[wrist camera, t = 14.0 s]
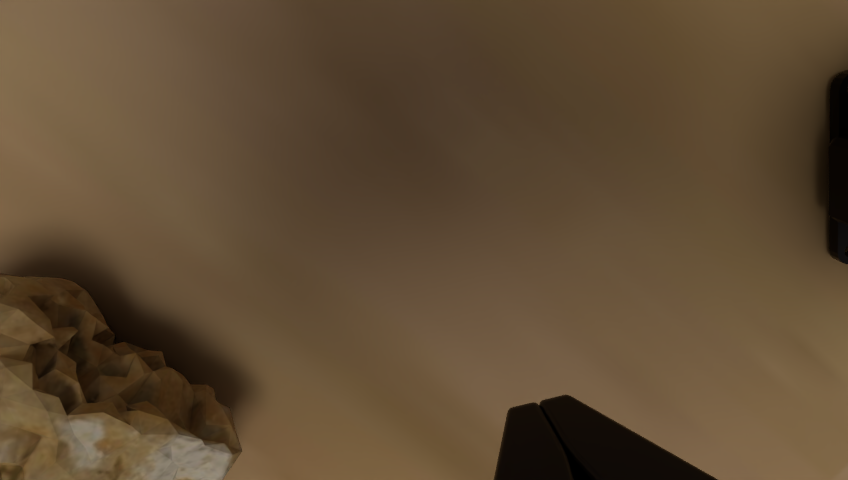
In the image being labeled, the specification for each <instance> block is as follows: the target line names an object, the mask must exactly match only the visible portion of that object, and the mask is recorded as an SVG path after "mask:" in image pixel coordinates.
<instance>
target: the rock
mask: <svg viewBox="0 0 848 480" xmlns="http://www.w3.org/2000/svg"><path fill="white" fill-rule="evenodd" d="M114 338H115V334H114V333H113V332H112V331H111V330H110V328H109V327H108V326H107V324H106V321H105V319H104V317H103V315H102V313H101V312H100V310H99V309H98V307H97V305H96V304H95V302H94V301H93V299H92V297H91V296H90V294H89V293H88V291H87V290H85V289H83V288H81V287H80V286H79V285H77V284H76V283H75V282H73V281H70V280H66V279H63V278H51V277H31V276H25V278H24V277H18V276H12V275H5V274H0V480H223V478H224V477H225V475H226V474H227V472H228V471H229V469H230V468H231V467H232V465H233V464H234V462H235V461H236V459H237V458H238V456H239V455H240V453H241V452H242V449H241V446H240V443H239V440H238V437H237V434H236V431H235V427H234V423H233V418H232V414H231V410H230V408H229V407H227V406H224V405H222V404H220V403H218V402H217V401H216V397H215V392H214V389H213V388H211V387H210V386H208V385H191V384H190V383H189V382H188V380H187V379H186V378H185V377H184V375H183V374H181V373H179V372H177V371H176V370H174V369H173V368H170V367H166V364H165V360H164V356H163V353H162V351H150V350H145V349H142V348H140V347H137V346H135V345H132V344H129V343H127V342H122V343H118V344H114V345H113V343H114Z"/></svg>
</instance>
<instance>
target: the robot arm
mask: <svg viewBox="0 0 848 480" xmlns="http://www.w3.org/2000/svg"><path fill="white" fill-rule="evenodd" d="M847 87H848V70H846V71H844V72H841V73H839V74H838V75H837V76H836V77H835V78H834V80H833V82H832V84H831V89H830V146H829V215H830V228H829V250H830V255H831V256H832V257H833V258H834V259H836V260H838V261H840V262H842V263H845V264H848V251H847V252H845V249H846V247H847V246H848V92H847ZM494 480H718V479H716V478H714V477H712V476H711V475H709V474H707V473H705V472H704V471H702V470H700V469H698V468H696V467H695V466H693V465H691V464H689V463H688V462H686V461H684V460H682V459H681V458H679V457H677V456H675V455H674V454H672V453H670V452H668V451H667V450H665V449H663V448H661V447H659V446H658V445H656V444H654V443H652V442H651V441H649V440H647V439H645V438H644V437H642V436H640V435H638V434H637V433H635V432H633V431H631V430H630V429H628V428H626V427H624V426H623V425H621V424H619V423H617V422H615V421H614V420H612V419H610V418H608V417H607V416H605V415H603V414H601V413H600V412H598V411H596V410H594V409H593V408H591V407H589V406H587V405H586V404H584V403H582V402H580V401H578V400H577V399H575V398H573V397H571V396H569V395H562V396H558V397H554V398H550V399H545V400H542V401H541V402H540V404H539V405H538V404H537V403H529V404H525V405H520V406H516V407H512V408H510V409H509V410H508V413H507V417H506V422H505V427H504V432H503V437H502V442H501V447H500V452H499V457H498V462H497V467H496V472H495V477H494Z"/></svg>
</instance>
